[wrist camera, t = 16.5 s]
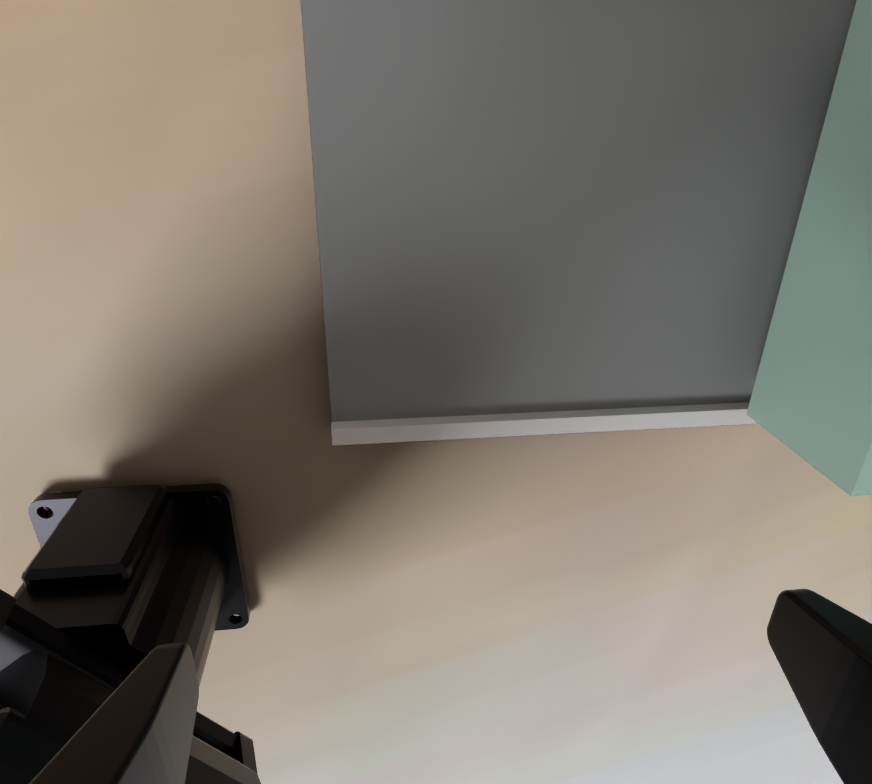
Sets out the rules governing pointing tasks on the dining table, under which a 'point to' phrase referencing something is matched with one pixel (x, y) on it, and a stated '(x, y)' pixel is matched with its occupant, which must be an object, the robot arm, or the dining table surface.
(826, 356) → the sage green storage bin
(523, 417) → the rail board
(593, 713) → the dining table surface
